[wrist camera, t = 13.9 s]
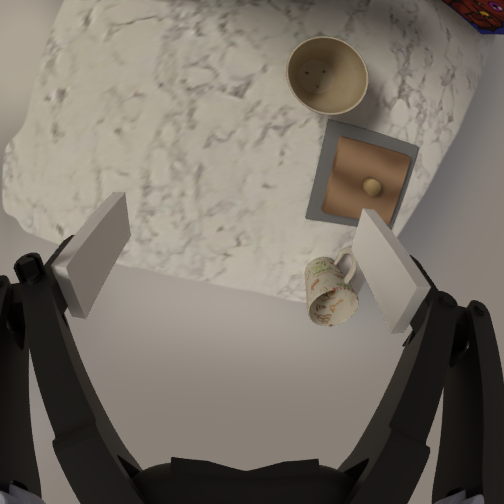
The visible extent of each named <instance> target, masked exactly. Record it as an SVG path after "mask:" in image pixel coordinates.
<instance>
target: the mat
mask: <svg viewBox="0 0 504 504" xmlns="http://www.w3.org/2000/svg"><path fill="white" fill-rule="evenodd" d="M339 135H340V136H344V137H348V138H352V139H356V140H360V141H363V142H367V143H371V144H374V145H377V146H381V147H384V148H387V149H391V150H394V151H397V152H400V153H403V154H406V155H408V156H410V157H411V160H410V163H409V166H408V170H407V173H406V176H405V179H404V182H403V185H402V188H401V191H400V194H399V197H398V200H397V203H396V206H395V209H394V212H393V214H392V217H391V220H390V222H389V224H386V225H387V226H388V227H389V229H390V230H391V229H392V226H393V223H394V221H395V218H396V215H397V213H398V210H399V207H400V204H401V202H402V199H403V196H404V193H405V190H406V187H407V184H408V181H409V178H410V175H411V171H412V168H413V165H414V162H415V158H416V155H417V151H418V148H419V147H417V146H415V145H412V144H409V143H407V142H404V141H401V140H398V139H395V138H392V137H389V136H386V135H383V134H380V133H376V132H373V131H370V130H366V129H363V128H359V127H356V126H352V125H348V124H345V123H341V122H337V121H333V120H329V119H328V122H327V127H326V131H325V136H324V141H323V145H322V150H321V154H320V158H319V163H318V167H317V171H316V176H315V180H314V184H313V188H312V192H311V196H310V200H309V204H308V208H307V212H306V216H305V218H306V219H311V220H318V221H324V222H331V223H338V224H344V225H350V226H357V227H358V224H359V220H360V219H356V218H350V217H344V216H338V215H332V214H325V213H323V211H322V210H321V207H322V203H323V200H324V196H325V192H326V188H327V184H328V180H329V177H330V173H331V169H332V165H333V160H334V156H335V152H336V148H337V144H338V139H339Z"/></svg>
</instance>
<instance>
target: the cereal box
mask: <svg viewBox="0 0 504 504" xmlns="http://www.w3.org/2000/svg"><path fill="white" fill-rule="evenodd" d="M442 1H443V2H444V3H446V4H447V5H448V6H450V7H451V8H452V9H453V10H455V11H456V12H457V13H458V14H459V15H461V16H462V17H463V18H464V19H465V20H466V21H468V22H469V23H470V24H471V25H472V26H473V27H474V28H475V29H476V30H478V31H479V32H480V33H481V34H504V0H442Z"/></svg>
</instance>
